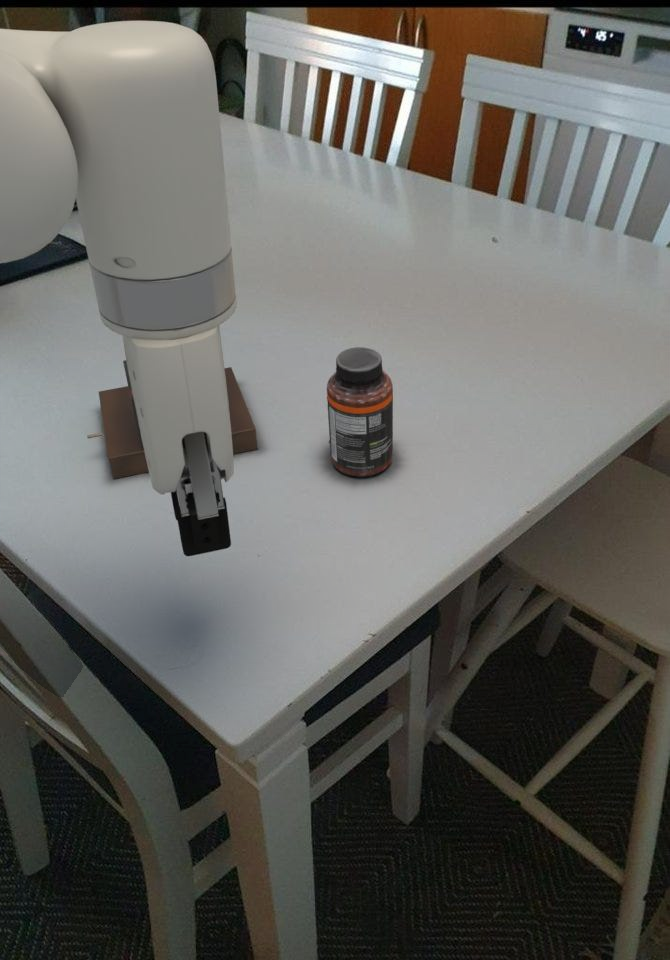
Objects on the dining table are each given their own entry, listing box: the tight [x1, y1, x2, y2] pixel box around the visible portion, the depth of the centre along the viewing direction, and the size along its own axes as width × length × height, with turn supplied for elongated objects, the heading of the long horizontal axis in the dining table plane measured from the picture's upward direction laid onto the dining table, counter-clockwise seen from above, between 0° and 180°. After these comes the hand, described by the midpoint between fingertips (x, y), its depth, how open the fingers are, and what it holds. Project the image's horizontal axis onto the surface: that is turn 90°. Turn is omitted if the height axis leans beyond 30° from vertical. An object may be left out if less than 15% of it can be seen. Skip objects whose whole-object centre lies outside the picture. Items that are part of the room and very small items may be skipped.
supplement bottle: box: [326, 346, 394, 478], centre depth 74 cm, size 6×6×11 cm
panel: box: [86, 366, 259, 480], centre depth 81 cm, size 16×14×3 cm
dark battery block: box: [122, 359, 143, 448], centre depth 77 cm, size 7×2×6 cm, turn 17°
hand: (202, 530), depth 56 cm, fingers closed on chess pawn, 2 cm apart
